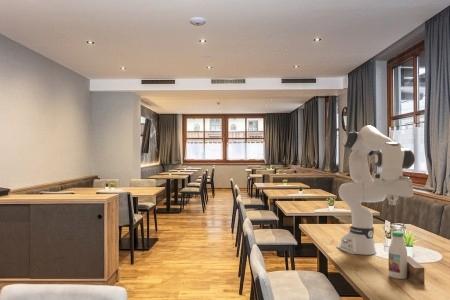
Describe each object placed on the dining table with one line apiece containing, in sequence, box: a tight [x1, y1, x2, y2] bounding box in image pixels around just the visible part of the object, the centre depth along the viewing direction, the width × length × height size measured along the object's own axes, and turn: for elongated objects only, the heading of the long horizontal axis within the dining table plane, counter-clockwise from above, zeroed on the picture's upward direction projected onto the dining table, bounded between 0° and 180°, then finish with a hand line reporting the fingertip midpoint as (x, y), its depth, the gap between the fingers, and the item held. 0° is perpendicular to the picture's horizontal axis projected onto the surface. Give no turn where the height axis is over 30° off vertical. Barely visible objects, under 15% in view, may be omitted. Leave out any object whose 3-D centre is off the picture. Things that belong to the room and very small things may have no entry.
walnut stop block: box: [407, 255, 425, 285], centre depth 165 cm, size 4×18×7 cm, turn 171°
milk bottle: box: [388, 231, 408, 280], centre depth 166 cm, size 8×8×20 cm
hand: (392, 204), depth 176 cm, fingers closed
